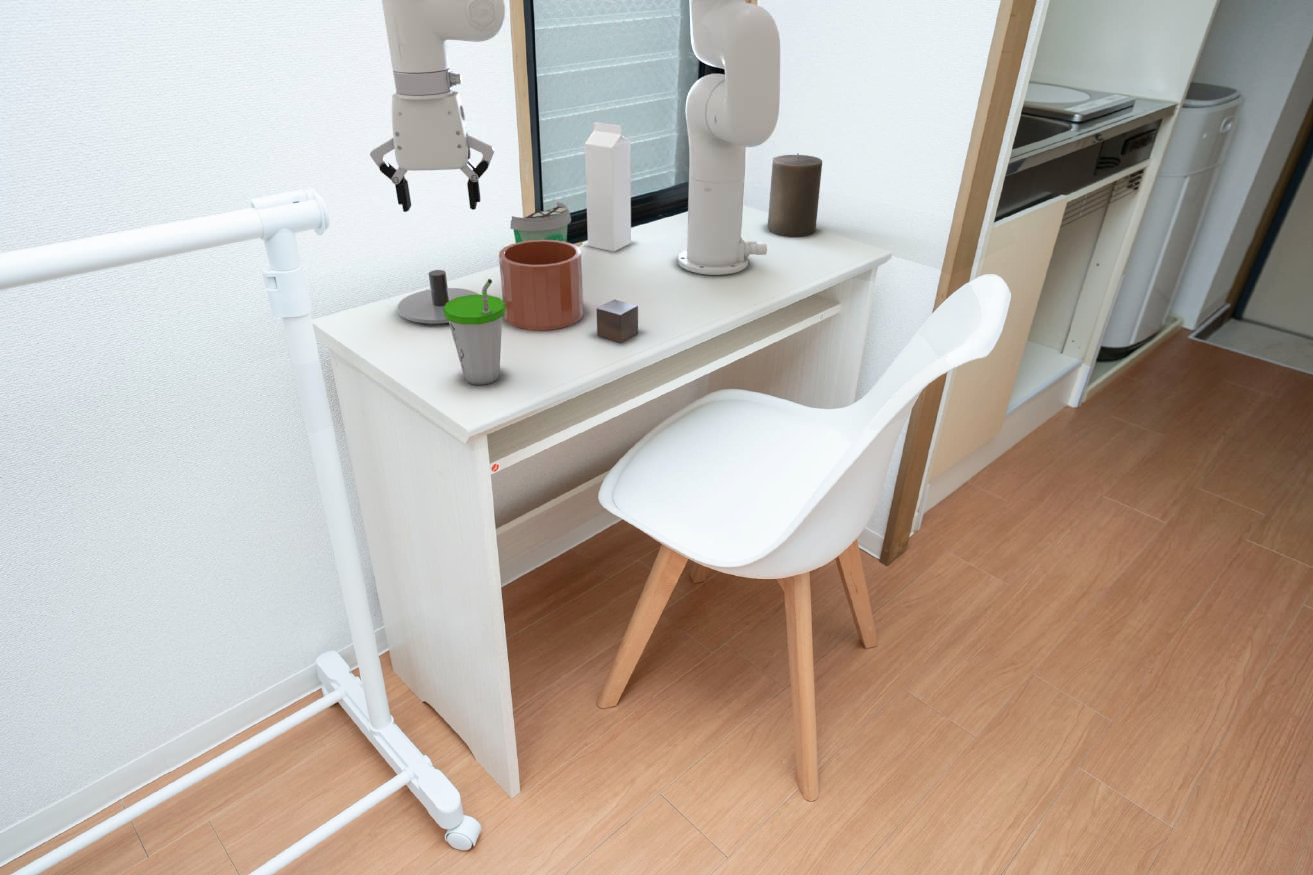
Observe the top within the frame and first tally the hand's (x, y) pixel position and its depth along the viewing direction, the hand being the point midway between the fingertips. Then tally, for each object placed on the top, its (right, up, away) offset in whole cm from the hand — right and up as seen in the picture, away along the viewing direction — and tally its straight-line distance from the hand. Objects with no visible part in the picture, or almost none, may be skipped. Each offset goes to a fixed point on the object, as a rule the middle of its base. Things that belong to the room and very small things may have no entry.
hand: (440, 208), depth 125 cm
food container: (+13, -4, +26) cm, 29 cm away
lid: (-2, -13, +8) cm, 16 cm away
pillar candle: (+59, +8, +46) cm, 75 cm away
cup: (+8, -26, -11) cm, 29 cm away
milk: (+23, +3, +37) cm, 43 cm away
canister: (+14, -15, +8) cm, 22 cm away
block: (+26, -18, +1) cm, 32 cm away
